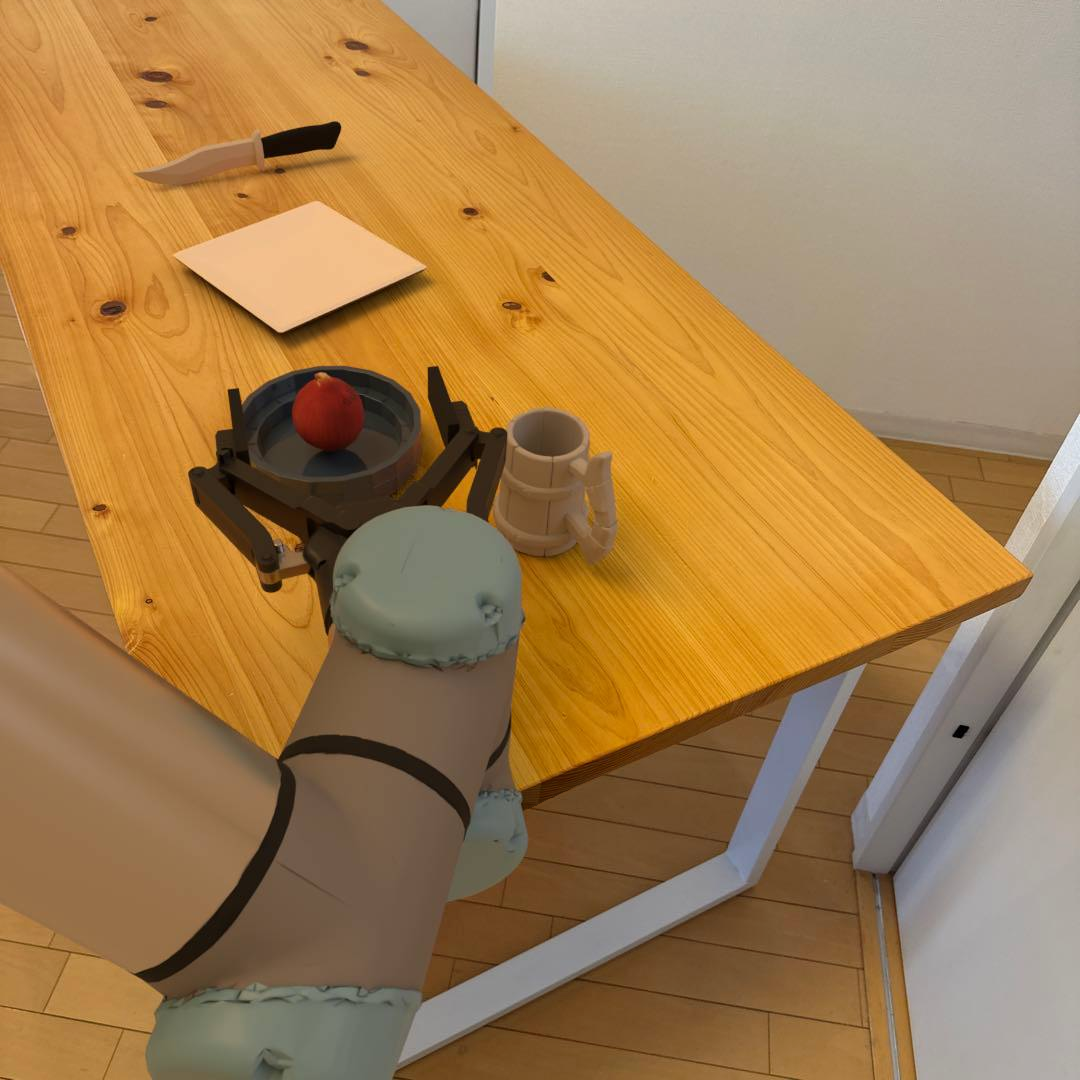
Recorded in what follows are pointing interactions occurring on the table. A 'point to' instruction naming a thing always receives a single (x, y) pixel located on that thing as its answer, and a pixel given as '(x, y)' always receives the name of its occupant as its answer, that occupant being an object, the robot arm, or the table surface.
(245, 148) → the knife
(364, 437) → the bowl
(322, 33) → the table surface
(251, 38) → the table surface
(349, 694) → the robot arm
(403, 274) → the plate
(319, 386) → the onion
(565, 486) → the mug
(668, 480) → the table surface
